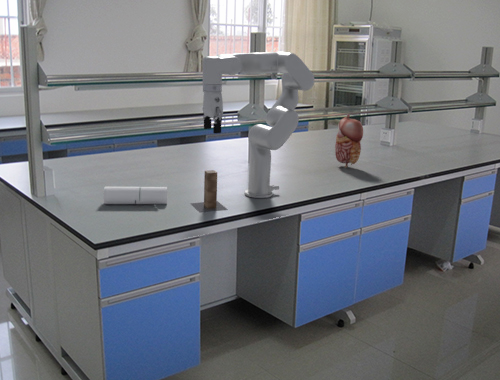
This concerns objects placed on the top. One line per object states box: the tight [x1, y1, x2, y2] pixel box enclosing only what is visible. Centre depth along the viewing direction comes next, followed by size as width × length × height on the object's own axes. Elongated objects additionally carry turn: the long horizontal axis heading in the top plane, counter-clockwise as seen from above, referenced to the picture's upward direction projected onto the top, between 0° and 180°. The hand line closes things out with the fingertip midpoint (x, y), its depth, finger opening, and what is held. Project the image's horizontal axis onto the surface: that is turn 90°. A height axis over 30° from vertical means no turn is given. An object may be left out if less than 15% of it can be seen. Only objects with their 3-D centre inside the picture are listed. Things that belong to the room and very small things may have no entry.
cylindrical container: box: [103, 186, 168, 205], centre depth 214 cm, size 7×7×25 cm
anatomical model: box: [334, 113, 364, 168], centre depth 288 cm, size 12×16×30 cm
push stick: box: [203, 169, 218, 209], centre depth 211 cm, size 4×4×15 cm
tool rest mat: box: [189, 200, 228, 213], centre depth 214 cm, size 12×12×1 cm
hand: (212, 130), depth 212 cm, fingers open, 9 cm apart
